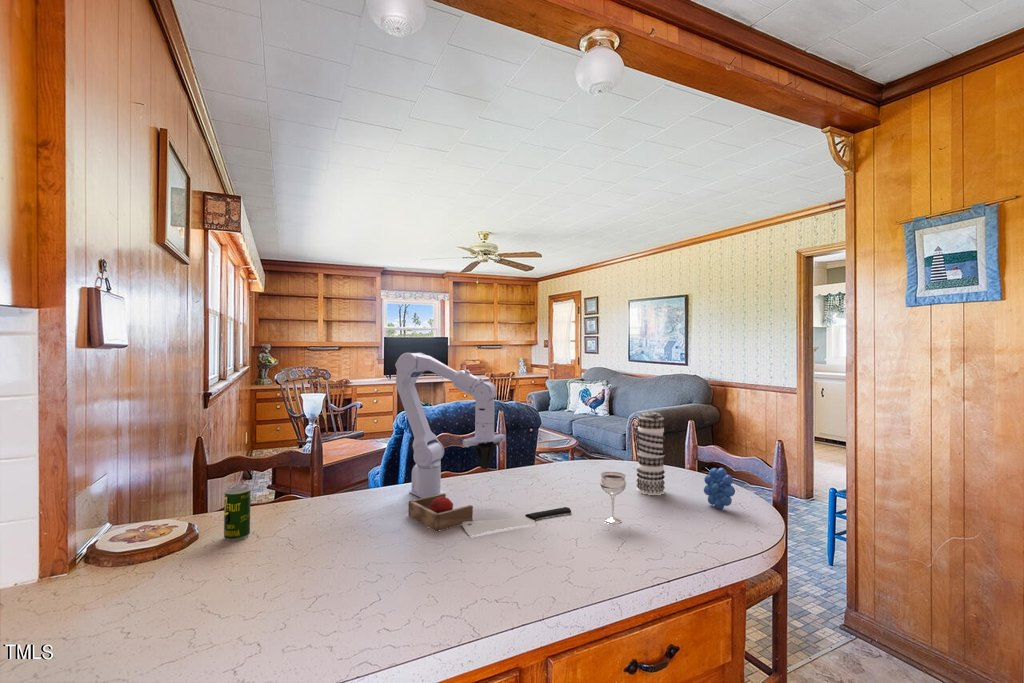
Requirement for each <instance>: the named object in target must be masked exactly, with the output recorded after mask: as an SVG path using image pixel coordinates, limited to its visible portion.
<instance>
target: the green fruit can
mask: <svg viewBox="0 0 1024 683" xmlns="http://www.w3.org/2000/svg"><path fill="white" fill-rule="evenodd" d="M251 490H252V489H251V486H250V484H249V483H235V484H230V485H228V486H226V487H225V491H224V500H223V501H224V506H223V508H224V509H223V512H224V514H223V518H224V519H223V538H224V540H225V541H226V540H227V542H231V541H232V542H239V541H243V540H245V539H247V538H248V537H249V536H250V535H251V534H250V533H251V497H252V496H251V492H252V491H251Z"/></svg>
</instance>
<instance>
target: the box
mask: <svg viewBox="0 0 1024 683" xmlns="http://www.w3.org/2000/svg"><path fill="white" fill-rule="evenodd" d="M441 496H443V497H446V494H444V493H442V494H438V495H433V496H429V497H425V498H420V497H419V498H418V499H413V500H412V499H411V500H409V501H408V515H407V516H408V517H409V518H411V519H413V520H415V521H416V522H417V523H420V524H421V523H422V524H421V525H424V526H425V527H427V528H428V527H429V529H430V528H431V529H430V530H432V529H433V530H432V531H434V530H435V531H434V532H436V531H437V532H440V531H439V530H441V531H444V530H447V528H448V529H451V528H454V526H455V527H458V526H462V525H461V524H462V523H463V522H466V521H473V516H474V515H473V512H474V510H473V508H474V507H473V506H474V505H472V504H469V505H466V506H465V505H464V506H462V507H459V508H453V509H452V510H449V511H445V512H442V513H436V512H434V511H432V510H430V509H429V506H430V505H431V503H432V501H433V500H434V499H436V498H438V497H441ZM457 525H458V526H457ZM450 527H451V528H450ZM443 529H444V530H443Z"/></svg>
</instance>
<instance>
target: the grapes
mask: <svg viewBox="0 0 1024 683" xmlns="http://www.w3.org/2000/svg"><path fill="white" fill-rule="evenodd" d="M708 473H709V474H707V475H705V477H704V480H703V481H704V483H705V484H706V485H705V486H704V488H703V492H704V494H705V495H706V496H707V502H708V503H709V504H710V505H712V506H713V505H714V507H715V508H716V509H718V510H723V509H724V507H729V506H730V505H731V504H732V503H733V502H732V500H733V499H732V497H733V496H734V495H735V493H736V489H735V487H734V486H733V482H734V478H733V477H732V475H730V474H728V472H727V470H726V469H725V467H719V468H717V467H713V468H711V469H710V470H709V472H708Z"/></svg>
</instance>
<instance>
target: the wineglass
mask: <svg viewBox="0 0 1024 683" xmlns="http://www.w3.org/2000/svg"><path fill="white" fill-rule="evenodd" d="M599 475H600V477H601V478H600V479H599V484H600V487H601V489H602V490H603V492H604V493H606V494H608V495H609V496H610V497H611V498H610V499H611V516H608V518H607V517H604V518H605V521H607V522H610V523H616V522H617V523H618V522H620V521H621V520H622V519H621V518H619V517H614V516H615V515H614V514H615V512H614V511H615V509H614V508H615V497H617V496H618V495H620V494H621V493H623V492H624V491H625V490H626V486H627V481H626V479H625V478H626V477H627V476H626V474H624V473H622V472H618V471H603V472H601V473H600V474H599ZM618 518H619V519H618ZM620 519H621V520H620Z"/></svg>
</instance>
